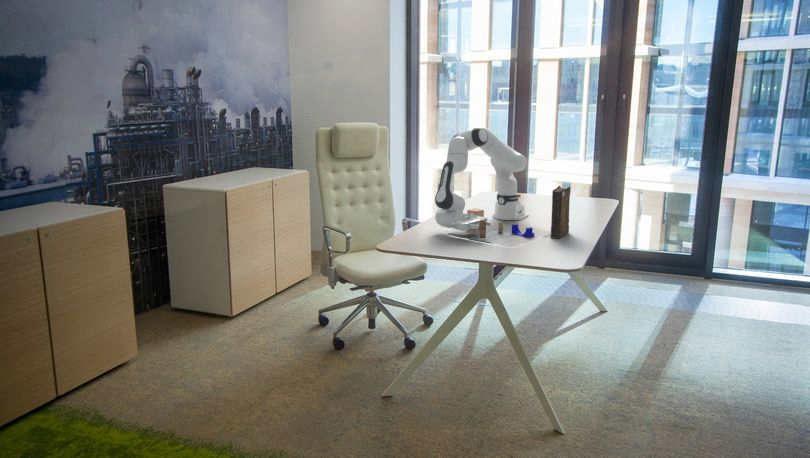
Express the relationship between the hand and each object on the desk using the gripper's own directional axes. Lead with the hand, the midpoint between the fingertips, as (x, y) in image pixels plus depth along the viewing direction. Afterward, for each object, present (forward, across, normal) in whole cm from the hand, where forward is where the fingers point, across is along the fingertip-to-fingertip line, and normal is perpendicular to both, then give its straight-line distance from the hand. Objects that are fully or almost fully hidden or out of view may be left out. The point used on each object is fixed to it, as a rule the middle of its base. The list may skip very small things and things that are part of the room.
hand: (484, 225), depth 321 cm
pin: (-1, 0, +6) cm, 7 cm away
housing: (-18, +17, +8) cm, 26 cm away
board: (-1, +8, +8) cm, 11 cm away
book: (+22, +35, +8) cm, 42 cm away
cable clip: (+10, +20, +8) cm, 24 cm away
